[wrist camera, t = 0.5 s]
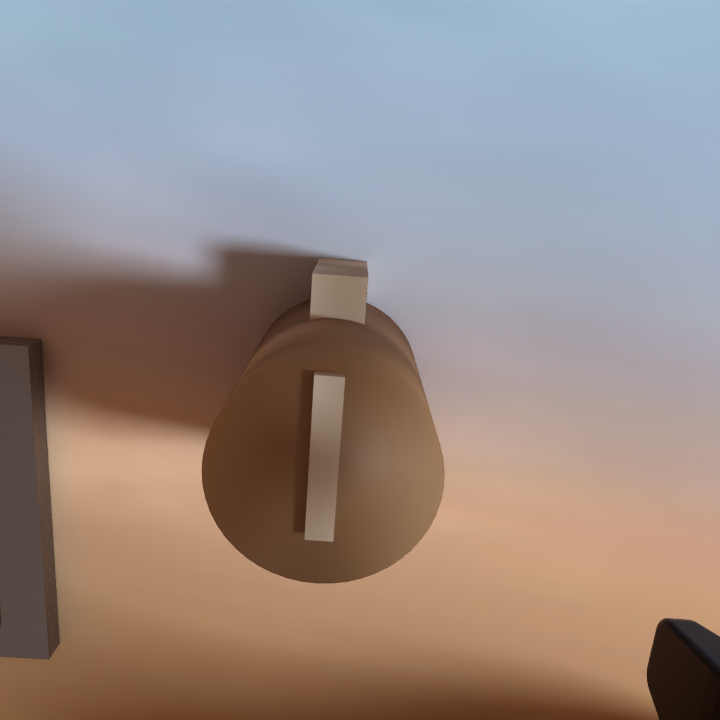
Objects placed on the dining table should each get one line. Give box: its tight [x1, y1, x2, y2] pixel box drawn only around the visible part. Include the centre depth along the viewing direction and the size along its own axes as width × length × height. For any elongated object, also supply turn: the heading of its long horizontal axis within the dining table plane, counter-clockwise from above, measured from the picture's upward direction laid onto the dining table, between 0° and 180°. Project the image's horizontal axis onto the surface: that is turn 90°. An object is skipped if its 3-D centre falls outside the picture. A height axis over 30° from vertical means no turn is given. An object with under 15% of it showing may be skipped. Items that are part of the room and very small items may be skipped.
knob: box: [202, 258, 444, 583], centre depth 17 cm, size 5×6×7 cm
